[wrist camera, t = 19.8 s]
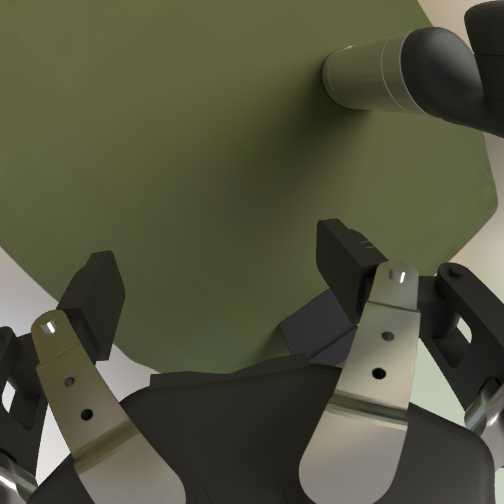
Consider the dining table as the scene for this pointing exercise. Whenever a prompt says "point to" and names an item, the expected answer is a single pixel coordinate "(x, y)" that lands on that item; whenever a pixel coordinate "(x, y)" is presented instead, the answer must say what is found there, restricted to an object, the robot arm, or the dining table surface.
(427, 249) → the dining table surface
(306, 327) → the dark grey box
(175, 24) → the dining table surface
